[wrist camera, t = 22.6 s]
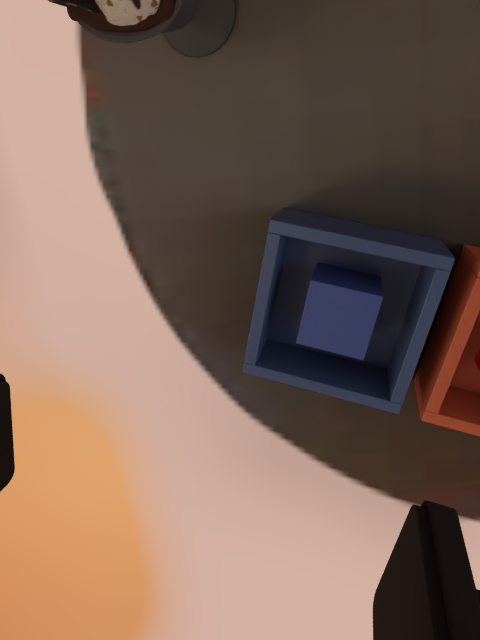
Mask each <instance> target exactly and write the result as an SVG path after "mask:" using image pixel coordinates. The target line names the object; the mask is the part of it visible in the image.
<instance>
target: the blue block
mask: <svg viewBox="0 0 480 640" xmlns="http://www.w3.org/2000/svg"><path fill="white" fill-rule="evenodd" d="M382 299H383V292H382V283H381V277H380V276H376V275H372V274H367V273H363V272H358V271H354V270H349V269H345V268H340V267H336V266H331V265H327V264H322V263H317V265H316V267H315V270H314V273H313V275H312V278H311V281H310V285H309V289H308V293H307V298H306V302H305V306H304V310H303V315H302V319H301V323H300V328H299V332H298V336H297V340H296V343H297V344H301V345H305V346H309V347H313V348H316V349H320V350H324V351H328V352H332V353H336V354H340V355H344V356H348V357H352V358H356V359H360V360H364V358H365V355H366V351H367V348H368V345H369V342H370V338H371V335H372V332H373V329H374V325H375V322H376V319H377V316H378V312H379V309H380V306H381V303H382Z"/></svg>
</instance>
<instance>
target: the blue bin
mask: <svg viewBox="0 0 480 640" xmlns="http://www.w3.org/2000/svg"><path fill="white" fill-rule="evenodd" d="M454 261H455V257H454V256H453V255H452V253H451V252H450V251H449V249H448V248H447V247H446V245H445V244H444V243H443V241H442V240H441V239H436V238H431V237H426V236H421V235H416V234H411V233H406V232H402V231H397V230H392V229H387V228H382V227H377V226H372V225H367V224H362V223H358V222H353V221H348V220H343V219H338V218H333V217H328V216H323V215H318V214H313V213H309V212H304V211H299V210H294V209H289V208H283V209H282V210H281V211H280V212H279V213H277V214H276V215H275V216H274V217H273V218H272V219H271V220H270V223H269V229H268V234H267V239H266V245H265V250H264V256H263V261H262V267H261V272H260V277H259V283H258V288H257V294H256V299H255V305H254V310H253V315H252V321H251V326H250V332H249V337H248V343H247V348H246V353H245V359H244V365H243V370H242V371H243V372H244V373H247V374H251V375H255V376H259V377H262V378H266V379H270V380H273V381H277V382H281V383H284V384H288V385H292V386H296V387H299V388H303V389H307V390H310V391H314V392H318V393H321V394H325V395H329V396H333V397H336V398H340V399H344V400H347V401H351V402H355V403H358V404H362V405H366V406H370V407H373V408H377V409H381V410H384V411H388V412H392V413H396V414H399V412H400V409H401V407H402V404H403V401H404V399H405V396H406V393H407V390H408V388H409V385H410V382H411V379H412V377H413V374H414V371H415V368H416V366H417V363H418V360H419V357H420V355H421V352H422V349H423V346H424V344H425V341H426V338H427V335H428V333H429V330H430V327H431V324H432V322H433V319H434V316H435V313H436V311H437V308H438V305H439V302H440V300H441V297H442V294H443V291H444V289H445V286H446V283H447V280H448V278H449V275H450V271H451V269H452V267H453V264H454ZM317 263H322V264H327V265H331V266H336V267H340V268H345V269H349V270H354V271H358V272H363V273H367V274H372V275H376V276H380V277H381V283H382V292H383V299H382V303H381V306H380V309H379V312H378V316H377V319H376V322H375V325H374V329H373V332H372V335H371V338H370V342H369V345H368V348H367V351H366V355H365V358H364V360H360V359H356V358H352V357H348V356H344V355H340V354H336V353H332V352H328V351H324V350H320V349H316V348H313V347H309V346H305V345H301V344H297V343H296V340H297V336H298V332H299V328H300V323H301V319H302V315H303V310H304V306H305V302H306V298H307V293H308V289H309V285H310V281H311V278H312V275H313V273H314V270H315V267H316V265H317Z"/></svg>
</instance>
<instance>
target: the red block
mask: <svg viewBox="0 0 480 640" xmlns="http://www.w3.org/2000/svg"><path fill="white" fill-rule="evenodd" d="M474 361H475V363H476V365H477V367H478V369H479V371H480V348H479V350H478V352H477V355H476V357H475V359H474Z"/></svg>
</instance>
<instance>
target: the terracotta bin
mask: <svg viewBox="0 0 480 640" xmlns="http://www.w3.org/2000/svg"><path fill="white" fill-rule="evenodd" d="M479 348H480V247H475V246H470V245H464V246H463V249H462V252H461V255H460V257H459V260H458V263H457V265H456V268H455V271H454V274H453V276H452V279H451V282H450V285H449V287H448V290H447V293H446V295H445V298H444V301H443V304H442V306H441V309H440V312H439V315H438V317H437V320H436V323H435V325H434V328H433V331H432V334H431V336H430V339H429V342H428V344H427V347H426V350H425V353H424V355H423V358H422V361H421V364H420V366H419V369H418V372H417V374H416V377H415V380H414V386H415V391H416V396H417V401H418V406H419V411H420V416H421V420H422V421H425V422H429V423H432V424H436V425H440V426H443V427H447V428H451V429H454V430H458V431H462V432H466V433H469V434H473V435H477V436H480V371H479V369H478V367H477V365H476V363H475V361H474V359H475V357H476V355H477V352H478V350H479Z"/></svg>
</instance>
